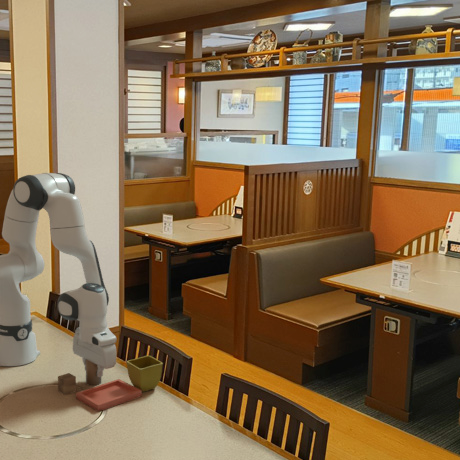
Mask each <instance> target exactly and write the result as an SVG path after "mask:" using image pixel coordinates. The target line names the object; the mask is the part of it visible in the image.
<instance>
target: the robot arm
mask: <svg viewBox="0 0 460 460" xmlns="http://www.w3.org/2000/svg"><path fill="white" fill-rule="evenodd" d="M42 209H44V211H46V212H47V215H48V219H49V220H48V221H49V231H50V240H51V242H52V245H53V247H55V248H56V249H57V250H58V251H59V252H61V253H63V254H66V255H69V256H74V257H76V258H77V259H78V260H79V261H80V264H81V266H82V269H83V275H84V278H85V283H83V284H82V285H81V286H79V287H78V288H76V289H71V290H68V291H65V292H62V293H61V294H60V295H59V296H58V298H57V305H56V306H57V312H58V313H59V315H60V317H62V318H63V319H64V320H67V321H78V322H79V324H78V325H79V326H78V327H76V328H75V331H74V334H73V339H72V351H73V354H74V355H76V356H78V357H80V358H82V359H81V360H82V363H83V366H84V371H85V372H86V359H87V360H89V361H91V362H93V363H95V364H97V367H98V370H97V371H96V376H97V377H101V378H102V377H103V376H104V371H105V369H106V370H108V369H112V368H114V367H115V366H116V364H117V347H116V344H117V336H116V335H115V334H114V333H113V332H112V331H111V330H110V329H109V327H108V321H107V314H108V305H109V302H110V301H109V300H110V297H109V294H108V293H109V292H108V290H107V288H106V286H105V283H104V278H103V275H102V270H101V267H100V262H99V256H98V253H97V249H96V247H95V245H94V243H93V241H92V240H90V239H89V237H88V235H87V232H86V227H85V219H84V212H83V209H82V205H81V201H80V199H79V197H78V196H77V195H76V184H75V182H74V180H73V178H72V177H71V176H70V175H67V174H65V173H62V172H56V173H55V172H53V173H52V172H42V173H37V174H25V175H24V176H20V177H19V178H18V179H17V180H16V181H15V182H14V184H13V188H12V190H11V191H10V194H9V197H8V200H7V203H6V207H5V211H4V219H3V224H2V231H1V237H2V239H4V241H5V242H7V244H9V251H8V253H5V254H1V255H0V367H1V366H2V367H18V366H23V365H28V364H30V363H32V362H33V361H35V360H36V359H37V358H38V356H39V355H40V354H41V351H40V349H38V348H37V339H36V333H35V332H34V331H33V320H32V318H31V317H32V316H31V300H30V298H29V297H28V296H27V295H25V294H24V293H22V292H21V288H20V284H21V283H24V282H27V281H30V280H33V279H34V278H36V277H38V276H39V275H41V274H42V273H43V271H44V269H45V260H44V257H43V255H42V254H41V253H40V252H39V251H38V249H37V243H36V237H37V236H36V235H37V229H38V223H39V219H40V218H39V217H40V211H41V210H42ZM115 343H116V344H115Z"/></svg>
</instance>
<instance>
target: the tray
mask: <svg viewBox="0 0 460 460" xmlns="http://www.w3.org/2000/svg"><path fill="white" fill-rule="evenodd" d="M75 393H76V394H75V395H76V396H75V397H76V398H75V399H76V400H77V401H79V402H82V403H83V404H85V406H86V405H87V406H88V407H90V408H91V409H93V410H95V411H97V412H99V413H100V412H102V411H105V410H107V409H110V408H113V407H115V406H118V405H121V404H123V403H127V402H130V401H132V400H134V399H137V398H140V397H142V394H143V392H142V390H140V389H138V388H136V387H134V386H133V384H130V383H128V382H126V381H124V380H122V379H119V378H118V379H114V380H111V381H109V382H105V383H101V384H99V385H95V386H93V387H89V388H87V389H84V390H82V391H80V390H79V391H78V392H77V391H76V392H75Z"/></svg>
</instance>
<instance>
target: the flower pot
mask: <svg viewBox="0 0 460 460" xmlns="http://www.w3.org/2000/svg"><path fill="white" fill-rule="evenodd" d="M163 364H164V362H162V361H160V360H158V359H157V358H155V357H153V356H152V355H144V356H141V357H137V358H134V359H130V360H127V361H126V366H127V373H128V378H129V381H130V383H131V385H132V386H134V387H136V388H138V389H140V390H142V393H143V392H147V391H150V390H153V389H155V388H157V386H158V385H159V383H160V381H161V378H162V372H163Z"/></svg>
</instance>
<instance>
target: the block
mask: <svg viewBox="0 0 460 460" xmlns="http://www.w3.org/2000/svg"><path fill="white" fill-rule="evenodd" d="M57 391H58V392H59V393H61V394H63V395H64V396H65V395H66V396H67V395H68V394H72V393H77V377H76V375H74V374H71V373H69V372H68V373H64V374H61V375H58V376H57Z"/></svg>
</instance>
